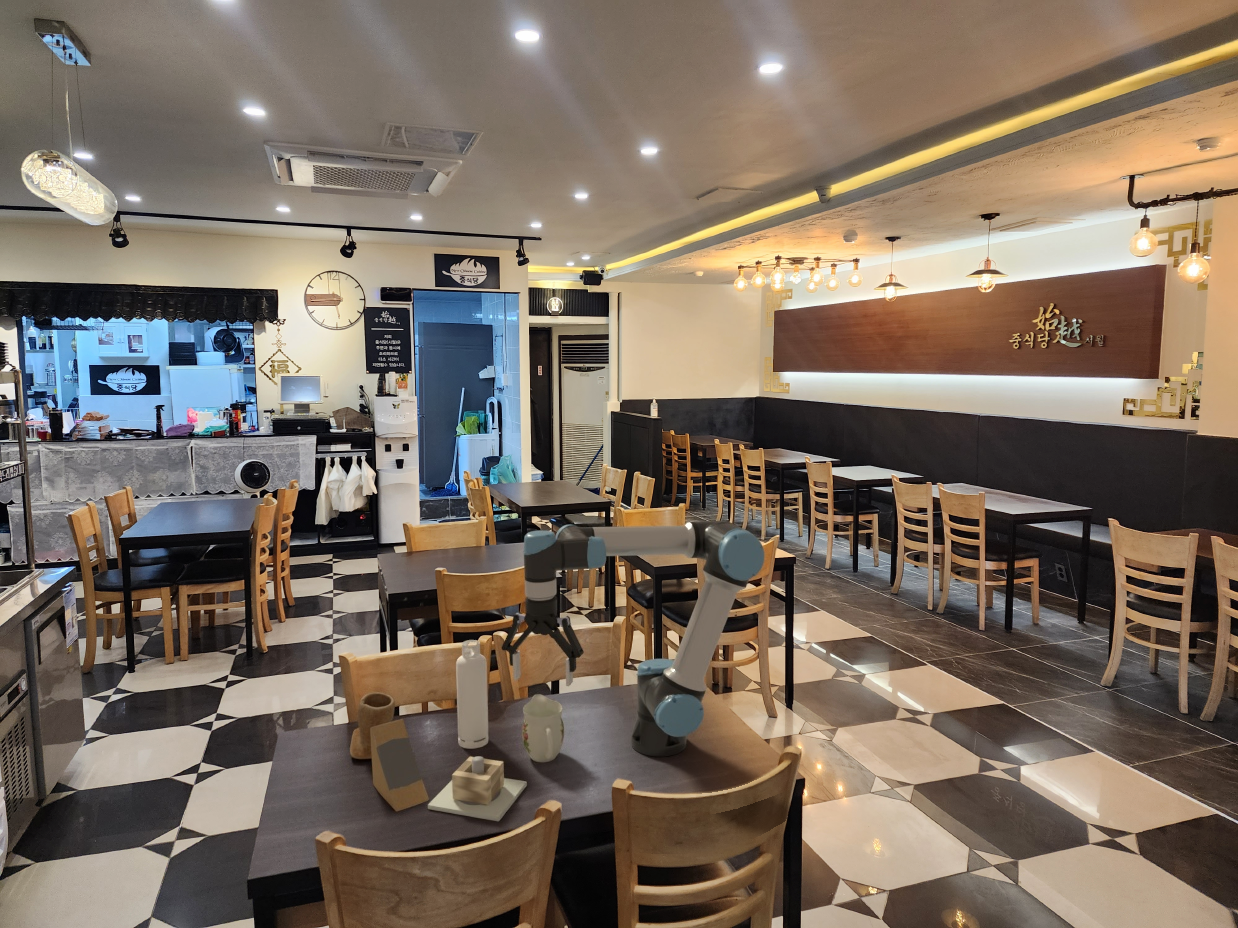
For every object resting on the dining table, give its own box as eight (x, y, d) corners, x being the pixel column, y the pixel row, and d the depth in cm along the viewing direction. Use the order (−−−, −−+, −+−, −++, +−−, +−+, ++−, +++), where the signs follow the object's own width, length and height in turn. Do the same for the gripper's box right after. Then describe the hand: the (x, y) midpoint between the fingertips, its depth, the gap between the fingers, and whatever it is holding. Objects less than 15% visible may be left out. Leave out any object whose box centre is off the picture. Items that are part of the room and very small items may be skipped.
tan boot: (395, 759, 206) (393, 704, 204) (347, 764, 203) (345, 709, 202) (398, 733, 221) (396, 682, 219) (353, 737, 218) (351, 686, 216)
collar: (504, 784, 191) (503, 761, 190) (487, 804, 182) (487, 780, 182) (470, 779, 193) (469, 756, 193) (452, 798, 185) (452, 774, 184)
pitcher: (529, 777, 197) (528, 725, 195) (518, 744, 214) (517, 696, 212) (572, 771, 200) (571, 719, 198) (557, 739, 217) (557, 691, 215)
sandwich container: (395, 812, 182) (393, 751, 180) (371, 785, 194) (369, 727, 192) (430, 800, 187) (428, 740, 185) (405, 774, 199) (403, 717, 197)
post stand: (526, 785, 193) (526, 748, 192) (498, 821, 178) (498, 781, 177) (460, 774, 198) (459, 738, 197) (427, 808, 183) (426, 770, 182)
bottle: (491, 735, 219) (489, 638, 216) (483, 749, 211) (481, 648, 208) (463, 733, 220) (460, 637, 217) (454, 747, 212) (451, 647, 209)
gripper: (595, 595, 188) (596, 680, 191) (499, 588, 195) (502, 670, 198) (585, 604, 181) (587, 692, 183) (486, 596, 188) (489, 681, 190)
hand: (543, 681), depth 191 cm, fingers open, 13 cm apart
